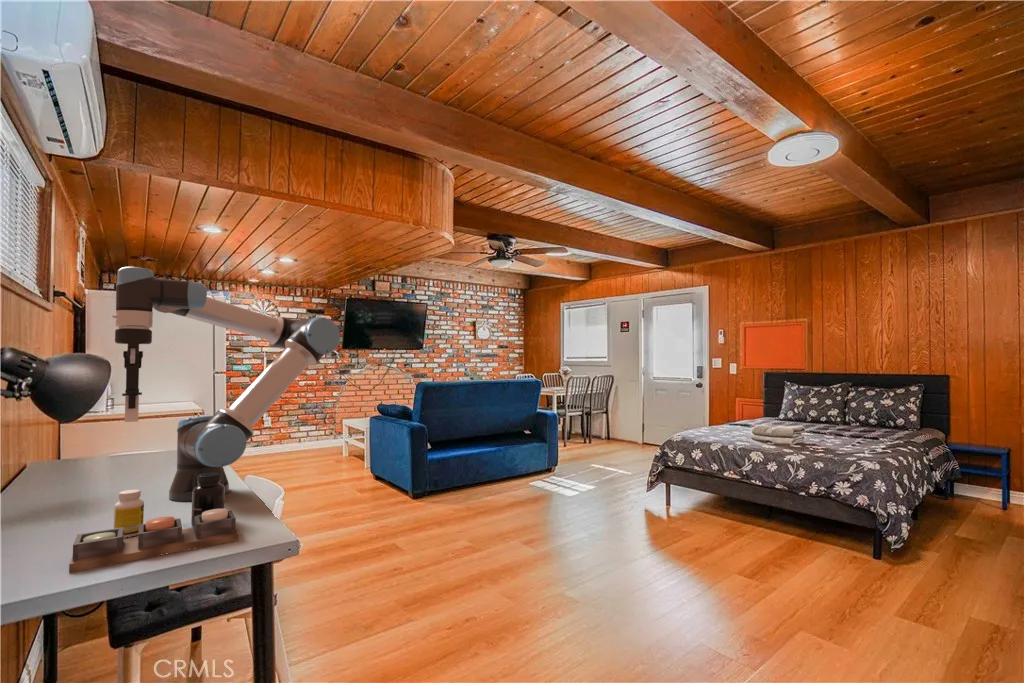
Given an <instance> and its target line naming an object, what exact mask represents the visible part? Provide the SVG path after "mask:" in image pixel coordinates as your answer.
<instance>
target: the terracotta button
mask: <svg viewBox="0 0 1024 683" xmlns="http://www.w3.org/2000/svg"><path fill="white" fill-rule="evenodd" d="M175 519H176V517H174V516H160V517H156V518H152V519H148V520H147V521H146V522H145V524H146V532H149V531H155V530H161V529H167V528H174V526H175Z"/></svg>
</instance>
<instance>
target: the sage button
mask: <svg viewBox="0 0 1024 683" xmlns="http://www.w3.org/2000/svg"><path fill="white" fill-rule="evenodd" d="M112 537H115V533H113V532H105V533H98V534H94V535H90V536H87V537H85V538H84V539H83V542H88V541H94V540H100V539H106V538H112Z"/></svg>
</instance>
